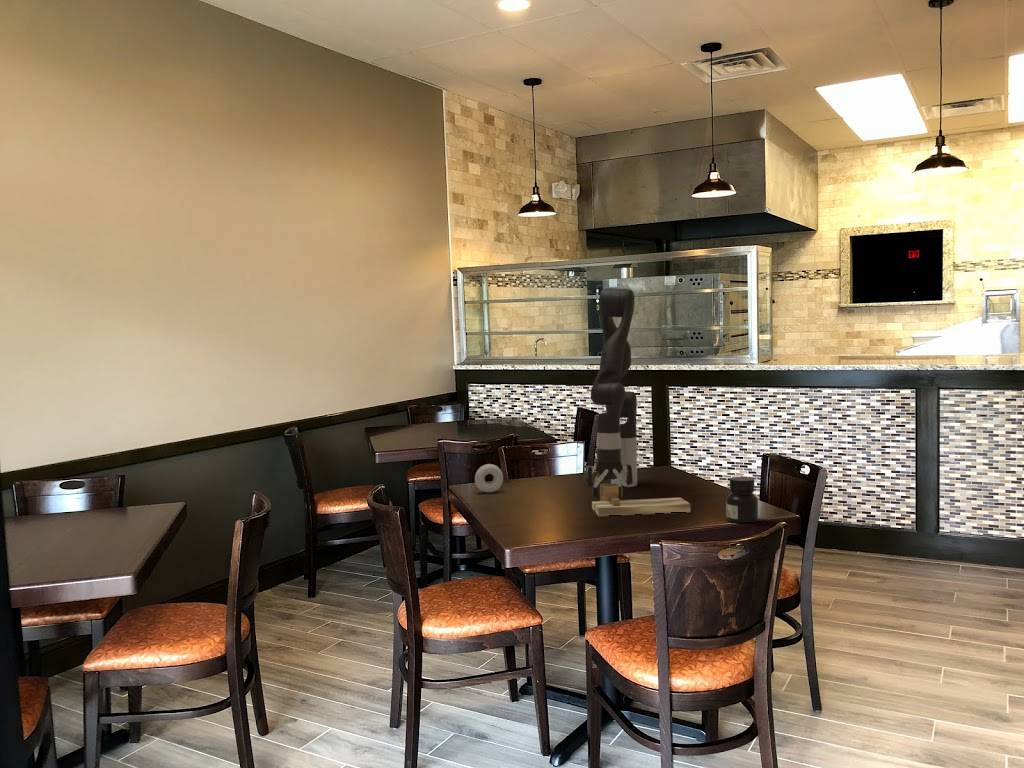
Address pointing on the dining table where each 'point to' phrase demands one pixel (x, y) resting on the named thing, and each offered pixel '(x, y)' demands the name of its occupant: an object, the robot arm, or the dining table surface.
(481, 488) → the donut
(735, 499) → the ink bottle
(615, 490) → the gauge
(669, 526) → the dining table surface
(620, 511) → the board
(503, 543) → the dining table surface
